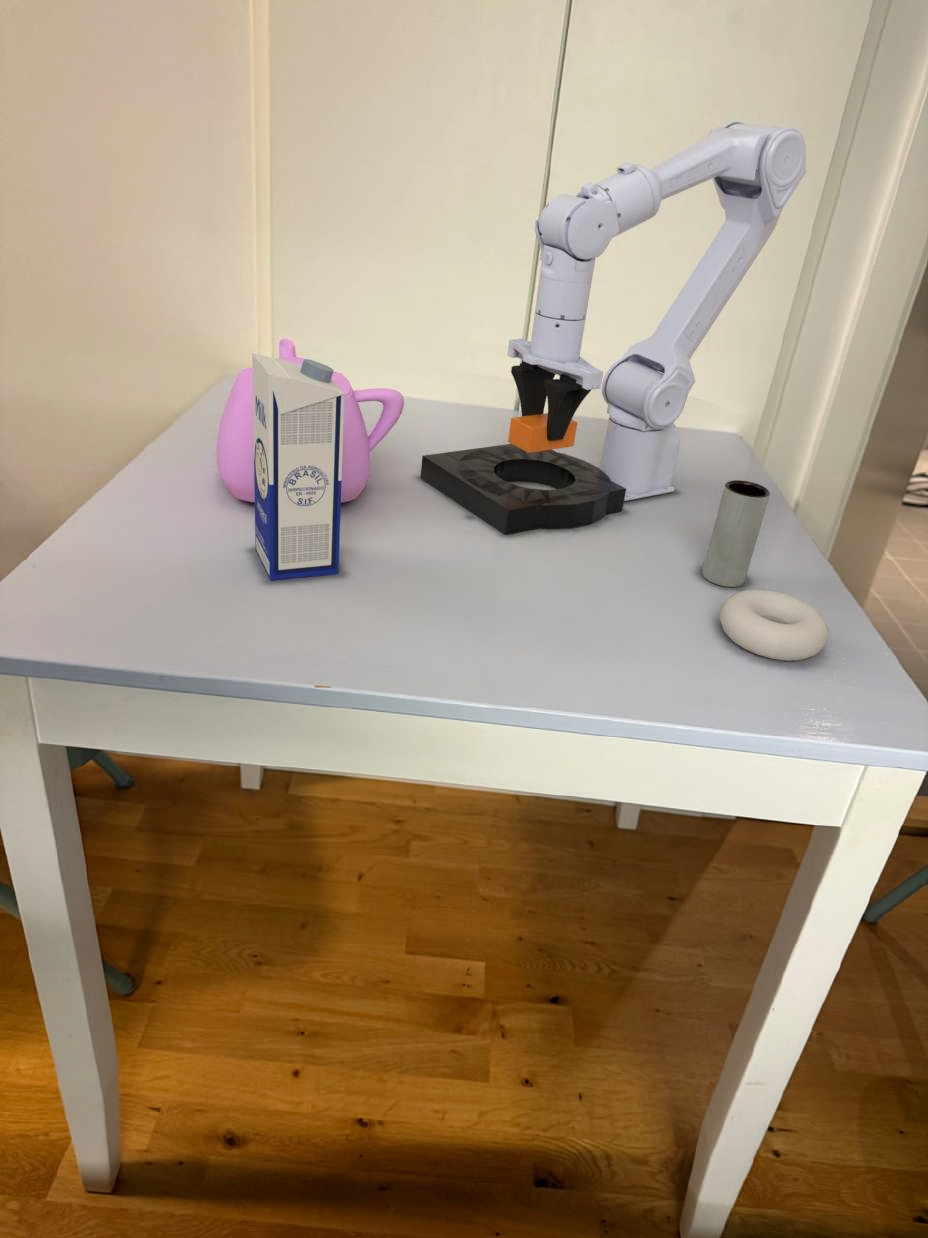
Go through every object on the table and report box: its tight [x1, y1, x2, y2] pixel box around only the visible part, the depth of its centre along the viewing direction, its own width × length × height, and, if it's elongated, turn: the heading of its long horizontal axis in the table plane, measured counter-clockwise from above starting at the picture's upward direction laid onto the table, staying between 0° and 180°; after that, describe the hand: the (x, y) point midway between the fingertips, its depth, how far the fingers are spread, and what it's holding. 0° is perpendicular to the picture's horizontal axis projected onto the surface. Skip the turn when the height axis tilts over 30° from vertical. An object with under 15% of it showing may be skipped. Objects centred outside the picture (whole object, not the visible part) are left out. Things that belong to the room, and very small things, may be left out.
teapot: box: [216, 338, 405, 504], centre depth 105 cm, size 23×21×15 cm
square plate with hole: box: [420, 443, 626, 536], centre depth 110 cm, size 20×20×3 cm
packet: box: [507, 412, 578, 453], centre depth 106 cm, size 7×4×3 cm, turn 125°
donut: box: [719, 589, 829, 662], centre depth 85 cm, size 10×4×10 cm
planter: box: [701, 479, 771, 588], centre depth 94 cm, size 4×4×10 cm
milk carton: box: [251, 353, 345, 582], centre depth 84 cm, size 7×7×20 cm
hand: (542, 432), depth 106 cm, fingers closed on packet, 4 cm apart
